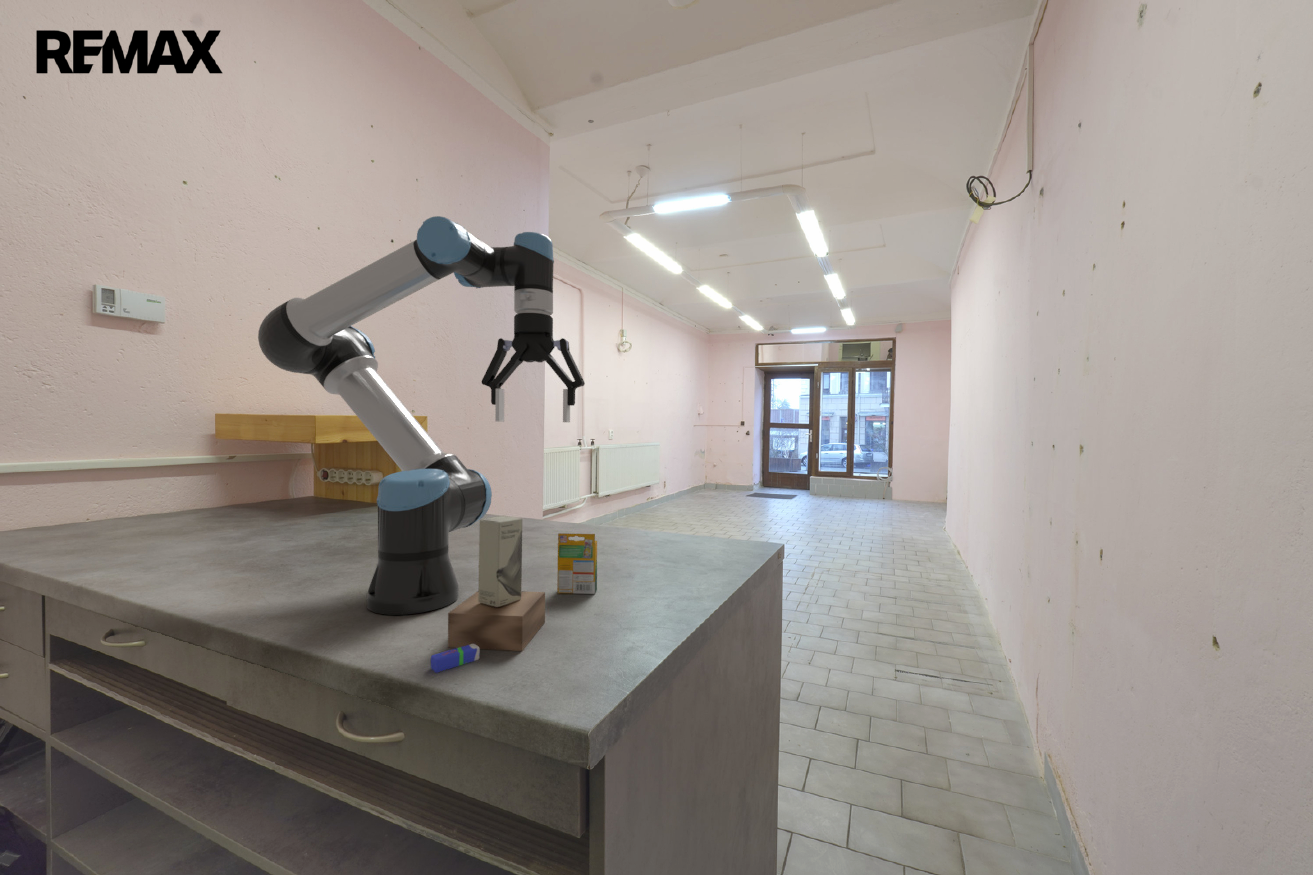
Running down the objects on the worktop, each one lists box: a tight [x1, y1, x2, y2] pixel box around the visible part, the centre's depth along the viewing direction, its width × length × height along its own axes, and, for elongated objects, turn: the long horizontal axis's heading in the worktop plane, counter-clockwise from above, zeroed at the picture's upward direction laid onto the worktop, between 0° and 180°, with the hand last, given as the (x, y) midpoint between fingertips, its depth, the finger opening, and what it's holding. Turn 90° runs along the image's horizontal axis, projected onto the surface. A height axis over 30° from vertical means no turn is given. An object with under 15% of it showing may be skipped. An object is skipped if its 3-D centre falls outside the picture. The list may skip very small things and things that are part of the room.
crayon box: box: [556, 532, 598, 595], centre depth 103 cm, size 7×3×12 cm, turn 88°
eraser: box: [430, 644, 481, 674], centre depth 72 cm, size 2×6×2 cm, turn 134°
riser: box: [447, 590, 546, 652], centre depth 82 cm, size 11×11×5 cm
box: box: [477, 515, 523, 607], centre depth 82 cm, size 5×4×13 cm
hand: (533, 422), depth 107 cm, fingers open, 13 cm apart
